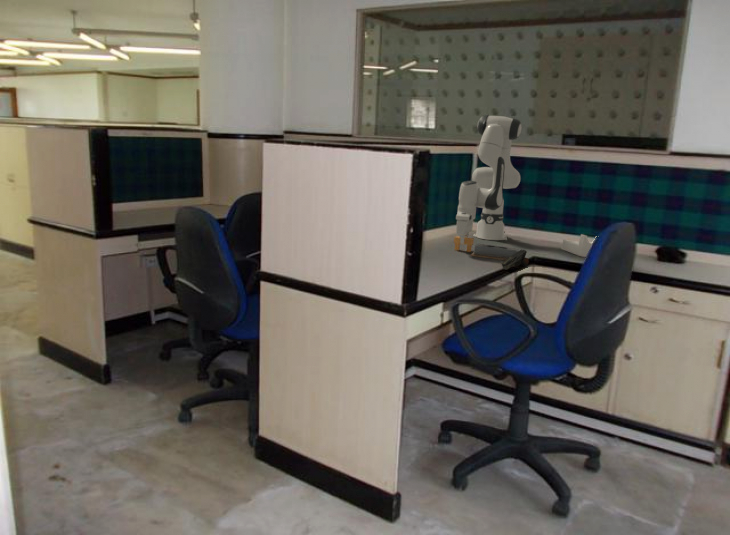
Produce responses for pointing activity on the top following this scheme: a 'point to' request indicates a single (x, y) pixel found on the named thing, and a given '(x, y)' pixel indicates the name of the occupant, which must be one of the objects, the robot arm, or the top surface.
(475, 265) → the top surface
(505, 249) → the rail board
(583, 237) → the tape dispenser
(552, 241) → the top surface
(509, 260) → the toy gun
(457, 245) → the orange arch block
